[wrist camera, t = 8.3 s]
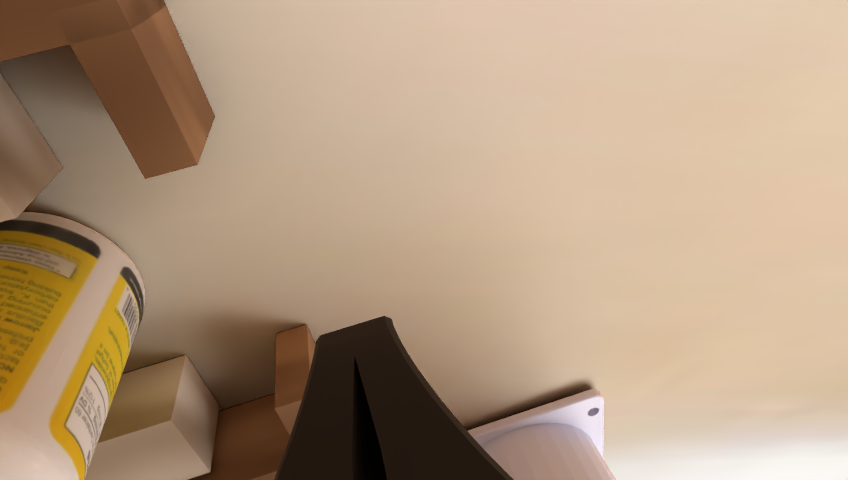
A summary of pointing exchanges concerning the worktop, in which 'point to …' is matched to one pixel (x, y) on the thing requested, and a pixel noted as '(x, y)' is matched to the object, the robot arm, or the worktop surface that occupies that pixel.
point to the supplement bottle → (60, 342)
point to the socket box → (154, 154)
